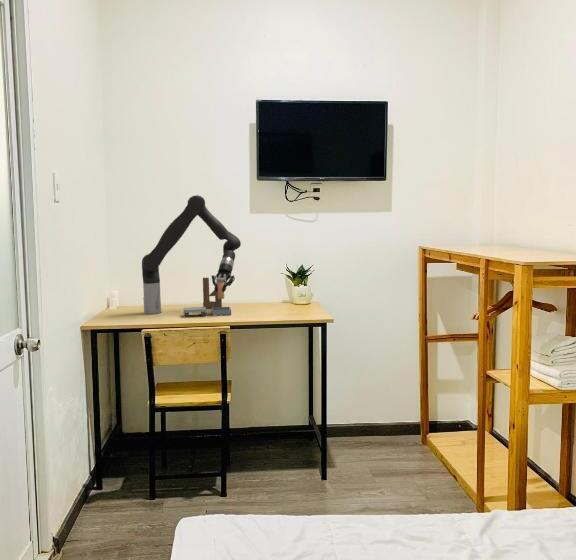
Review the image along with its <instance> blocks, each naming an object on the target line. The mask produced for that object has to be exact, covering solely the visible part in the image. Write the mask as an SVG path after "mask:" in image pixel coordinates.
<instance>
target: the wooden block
mask: <svg viewBox="0 0 576 560" xmlns="http://www.w3.org/2000/svg"><path fill="white" fill-rule="evenodd" d="M202 294H203V295H202V297H203V298H202V299H203V302H202V304H203V305H202V307H206V309H212V307H223V305H222V303H223V302H222V301H223V299H218V291H217V292H216V291H215V289H214V290H212V291H211V293H210V278H209V277H202ZM210 297H214V299H215V300H214V301H212V300H211V299H210Z"/></svg>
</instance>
